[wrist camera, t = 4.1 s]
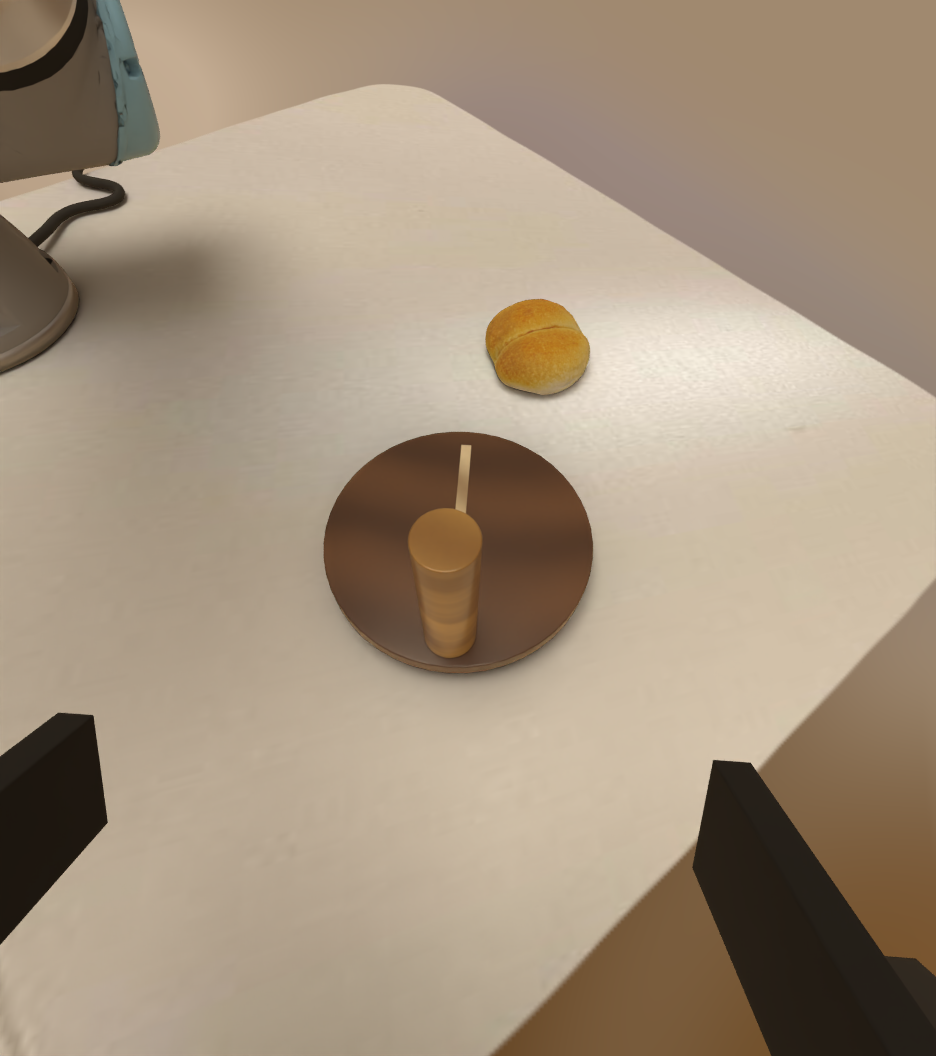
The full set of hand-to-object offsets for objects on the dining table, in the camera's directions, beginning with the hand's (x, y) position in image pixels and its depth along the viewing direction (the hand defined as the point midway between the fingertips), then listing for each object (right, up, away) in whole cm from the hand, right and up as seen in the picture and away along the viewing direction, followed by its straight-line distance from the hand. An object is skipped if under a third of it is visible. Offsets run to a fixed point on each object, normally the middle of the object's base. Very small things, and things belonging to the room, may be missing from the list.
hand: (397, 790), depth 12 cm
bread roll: (+7, +20, +35) cm, 41 cm away
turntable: (+1, +5, +24) cm, 24 cm away
